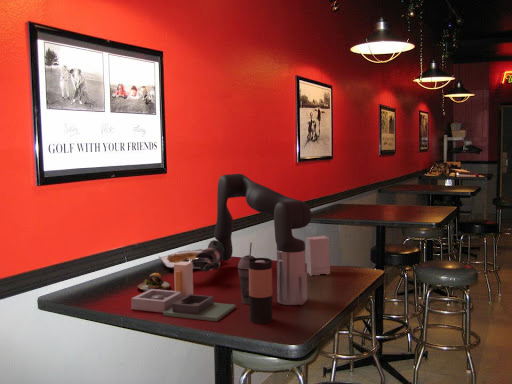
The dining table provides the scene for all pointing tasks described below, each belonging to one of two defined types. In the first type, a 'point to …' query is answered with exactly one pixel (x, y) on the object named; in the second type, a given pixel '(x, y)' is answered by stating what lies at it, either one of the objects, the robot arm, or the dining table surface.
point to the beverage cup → (244, 276)
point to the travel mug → (260, 290)
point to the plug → (183, 277)
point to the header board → (199, 308)
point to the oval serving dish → (179, 257)
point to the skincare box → (318, 255)
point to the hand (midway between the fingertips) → (194, 268)
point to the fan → (155, 300)
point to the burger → (154, 283)
